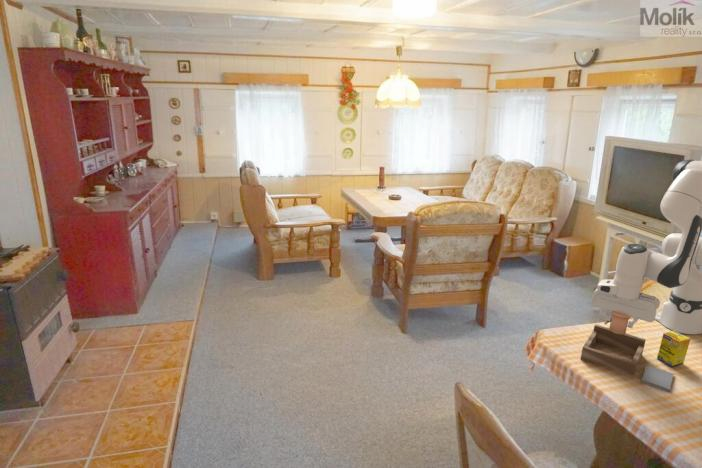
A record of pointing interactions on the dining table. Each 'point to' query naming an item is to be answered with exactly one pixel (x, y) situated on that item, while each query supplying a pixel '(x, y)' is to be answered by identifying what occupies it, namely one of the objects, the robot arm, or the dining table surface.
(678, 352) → the supplement box
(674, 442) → the dining table surface
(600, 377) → the dining table surface
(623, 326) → the peach drawer knob
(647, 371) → the slate mat
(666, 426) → the dining table surface
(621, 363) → the frame
